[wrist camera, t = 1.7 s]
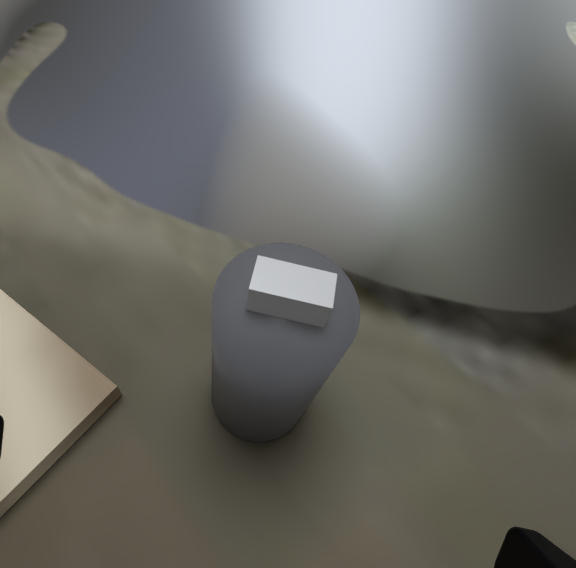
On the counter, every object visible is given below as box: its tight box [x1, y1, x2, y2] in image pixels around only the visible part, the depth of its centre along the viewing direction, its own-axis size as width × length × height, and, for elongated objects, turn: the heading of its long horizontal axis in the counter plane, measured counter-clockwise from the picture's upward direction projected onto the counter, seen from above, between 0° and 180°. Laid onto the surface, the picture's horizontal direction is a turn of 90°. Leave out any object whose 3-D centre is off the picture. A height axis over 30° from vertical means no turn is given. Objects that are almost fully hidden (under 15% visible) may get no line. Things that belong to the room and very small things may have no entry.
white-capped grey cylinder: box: [212, 243, 360, 442], centre depth 16 cm, size 5×5×10 cm
